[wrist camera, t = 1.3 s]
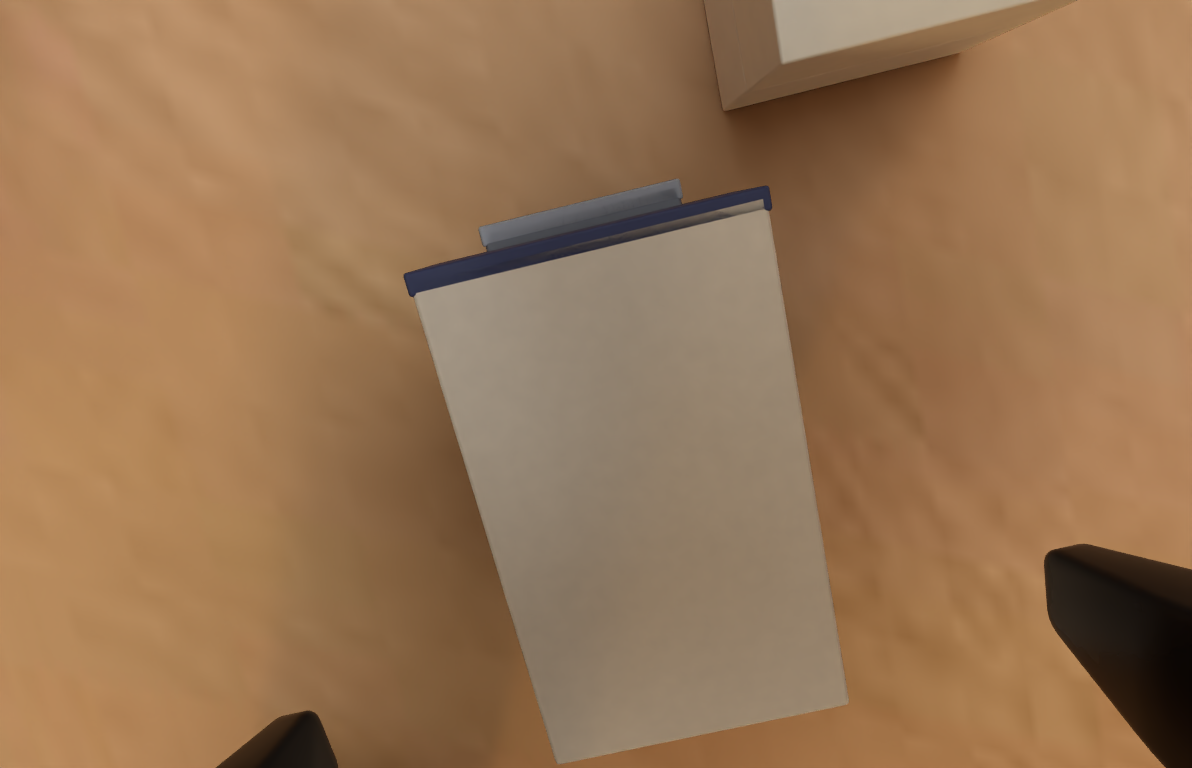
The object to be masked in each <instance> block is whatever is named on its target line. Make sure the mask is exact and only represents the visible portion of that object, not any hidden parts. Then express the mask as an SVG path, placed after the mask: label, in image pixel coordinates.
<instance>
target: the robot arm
mask: <svg viewBox="0 0 1192 768" xmlns="http://www.w3.org/2000/svg"><path fill="white" fill-rule="evenodd" d="M1044 570H1045V585H1046V599H1047V611H1048V615H1049V619H1050V621H1051V624H1052V626H1053V627H1054V629H1055V631H1056V632H1057V634H1058V635H1059V636H1060V638H1061V639H1062V640H1063V642H1064V643H1065V644H1066V645H1067V647H1068V648H1069V649H1070V650H1071V652H1072V653H1073V654H1074V655H1075V657H1076V658H1077V659H1078V661H1079V662H1080V663H1081V664H1082V666H1083V667H1084V668H1085V669H1086V671H1087V672H1088V673H1089V674H1090V676H1091V677H1092V678H1093V680H1094V681H1095V682H1096V683H1097V685H1098V686H1099V687H1100V688H1101V690H1102V691H1103V692H1104V693H1105V695H1106V696H1107V697H1108V699H1109V700H1110V701H1111V702H1112V704H1113V705H1114V706H1115V707H1116V709H1117V710H1118V711H1119V712H1120V714H1121V715H1122V716H1123V718H1124V719H1125V720H1126V721H1127V723H1128V724H1129V725H1130V726H1131V728H1132V729H1133V730H1134V731H1135V733H1136V734H1137V735H1138V736H1139V737H1140V739H1141V740H1142V741H1143V742H1144V743H1145V745H1146V746H1147V747H1148V748H1149V749H1150V751H1151V752H1152V753H1153V754H1154V755H1155V756H1156V758H1157V759H1158V760H1159V761H1160V762H1161V763H1162V764H1163V765H1164V766H1165V767H1166V768H1192V570H1191V569H1187V568H1183V567H1179V566H1175V565H1171V564H1166V563H1162V562H1158V561H1154V560H1150V559H1146V558H1142V557H1138V556H1134V555H1130V554H1126V553H1121V552H1117V551H1113V550H1109V549H1105V548H1101V547H1097V546H1093V545H1088V544H1077V545H1073V546H1068V547H1064V548H1059V549H1054V550H1051V551H1050V552H1048V553H1047V555H1046V557H1045V560H1044ZM216 768H338V764H337V760H336V758H335V755H334V753H333V750H332V748H331V745H330V743H329V740H328V738H327V735H326V733H325V730H324V728H323V725H322V723H321V721H320V719H319V717H318V715H317V714H316V713H314V712H312V711H303V712H299V713H294V714H289V715H285V716H281V717H279V718H277V719H276V720H274V721H273V722H272V723H271V724H269V725H268V726H267V727H266V728H264V729H263V730H262V731H261V732H259V733H258V734H257V735H256V736H254V737H253V738H252V739H251V740H250V741H248V742H247V743H246V744H245V745H243V746H242V747H241V748H240V749H238V750H237V751H236V752H235V753H233V754H232V755H231V756H230V757H229V758H227V759H226V760H225V761H224V762H222V763H221V764H220V765H219V766H217V767H216Z"/></svg>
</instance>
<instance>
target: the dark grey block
mask: <svg viewBox="0 0 1192 768" xmlns="http://www.w3.org/2000/svg"><path fill="white" fill-rule="evenodd" d="M682 198H683V194H682V189H681V184H680V180H679V179H673V180H669V181H665V182H661V183H657V184H653V185H649V186H645V187H641V188H636V189H632V190H628V191H624V192H620V193H616V194H612V195H608V196H604V197H600V198H596V199H592V200H587V201H583V202H579V203H575V204H571V205H567V206H563V207H559V208H555V209H551V210H547V211H543V212H538V213H534V214H530V215H526V216H522V217H518V218H514V219H510V220H506V221H502V222H498V223H494V224H489V225H485V226H481V227H479V234H480V237H481V241H482V245H483V246H484V247H486V249H487V252H488V251H492V250H496V249H500V248H505V247H509V246H513V245H517V244H521V243H525V242H529V241H533V240H537V239H542V238H546V237H550V236H554V235H558V234H562V233H566V232H570V231H574V230H579V229H583V228H587V227H591V226H595V225H599V224H603V223H607V222H611V221H616V220H620V219H624V218H628V217H632V216H636V215H640V214H644V213H648V212H653V211H657V210H661V209H665V208H669V207H673V206H677V205H681V204H682V203H681V199H682Z"/></svg>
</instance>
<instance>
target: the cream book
mask: <svg viewBox="0 0 1192 768" xmlns="http://www.w3.org/2000/svg"><path fill="white" fill-rule="evenodd" d="M770 210H772V202H771V196H770V190H769V187H768V186H761V187H756V188H751V189H746V190H741V191H735V192H731V193H727V194H722V195H718V196H714V197H710V198H706V199H702V200H698V201H694V202H690V203H685V204H681V205H677V206H673V207H669V208H665V209H661V210H657V211H653V212H648V213H644V214H640V215H636V216H632V217H628V218H624V219H620V220H616V221H611V222H607V223H603V224H599V225H595V226H591V227H587V228H583V229H579V230H574V231H570V232H566V233H562V234H558V235H554V236H550V237H546V238H542V239H537V240H533V241H529V242H525V243H521V244H517V245H513V246H509V247H505V248H500V249H496V250H492V251H488V252H484V253H480V254H476V255H472V256H467V257H463V258H459V259H455V260H451V261H447V262H443V263H439V264H435V265H432V266H428V267H425V268H422V269H418V270H415V271H411V272H408V273H405V274H404V280H405V283H406V286H407V290H408V293H409V295H410V297H414V300H415V303H416V306H417V310H418V313H419V316H420V320H421V323H422V326H423V329H424V333H425V336H426V339H427V342H428V346H429V349H430V352H431V355H432V359H433V362H434V365H435V369H436V372H437V375H438V378H439V382H440V385H441V388H442V391H443V395H444V398H445V401H446V405H447V408H448V411H449V414H450V418H451V421H452V424H453V427H454V431H455V434H456V437H457V441H458V444H459V447H460V450H461V454H462V457H463V460H464V463H465V467H466V470H467V473H468V476H469V480H470V483H471V486H472V490H473V493H474V496H475V499H476V503H477V506H478V509H479V512H480V516H481V519H482V522H483V526H484V529H485V532H486V535H487V539H488V542H489V545H490V548H491V552H492V555H493V558H494V561H495V565H496V568H497V571H498V575H499V578H500V581H501V584H502V588H503V591H504V594H505V597H506V601H507V604H508V607H509V611H510V614H511V617H512V620H513V624H514V627H515V630H516V633H517V637H518V640H519V643H520V647H521V650H522V653H523V656H524V660H525V663H526V666H527V669H528V673H529V676H530V679H531V682H532V686H533V689H534V692H535V696H536V699H537V702H538V705H539V709H540V712H541V715H542V718H543V722H544V725H545V728H546V732H547V735H548V738H549V741H550V745H551V748H552V751H553V754H554V758H555V761H556V763H557V764H564V763H569V762H574V761H579V760H584V759H588V758H593V757H598V756H603V755H608V754H612V753H617V752H622V751H627V750H632V749H636V748H641V747H646V746H651V745H656V744H660V743H665V742H670V741H675V740H680V739H684V738H689V737H694V736H699V735H704V734H708V733H713V732H718V731H723V730H728V729H732V728H737V727H742V726H747V725H752V724H756V723H761V722H766V721H771V720H776V719H781V718H785V717H790V716H795V715H800V714H805V713H809V712H814V711H819V710H824V709H829V708H833V707H838V706H843V705H846V704H848V702H849V697H848V691H847V685H846V679H845V673H844V667H843V661H842V655H841V648H840V642H839V636H838V630H837V624H836V618H835V612H834V606H833V599H832V593H831V587H830V581H829V575H828V569H827V563H826V557H825V550H824V544H823V538H822V532H821V526H820V520H819V514H818V508H817V501H816V495H815V489H814V483H813V477H812V471H811V465H810V459H809V453H808V446H807V440H806V434H805V428H804V422H803V416H802V410H801V404H800V397H799V391H798V385H797V379H796V373H795V367H794V361H793V355H792V348H791V342H790V336H789V330H788V324H787V318H786V312H785V306H784V299H783V293H782V287H781V281H780V275H779V269H778V263H777V257H776V251H775V244H774V238H773V232H772V226H771V220H770V214H769V211H770Z"/></svg>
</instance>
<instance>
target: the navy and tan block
mask: <svg viewBox="0 0 1192 768" xmlns="http://www.w3.org/2000/svg"><path fill="white" fill-rule="evenodd" d="M1075 1H1077V0H704V6H705V11H706V17H707V23H708V29H709V34H710V40H711V46H712V52H713V57H714V63H715V69H716V75H717V80H718V86H719V92H720V98H721V103H722V109H723V110H724V111H727V110H731V109H736V108H740V107H744V106H748V105H752V104H756V103H760V102H764V101H768V100H772V99H776V98H780V97H784V96H788V95H792V94H796V93H800V92H804V91H808V90H812V89H816V88H820V87H824V86H828V85H832V84H836V83H840V82H844V81H848V80H852V79H856V78H860V77H864V76H868V75H872V74H876V73H880V72H884V71H888V70H892V69H896V68H900V67H904V66H908V65H913V64H917V63H921V62H925V61H929V60H933V59H937V58H941V57H945V56H949V55H953V54H957V53H961V52H963V51H965V50H968V49H970V48H972V47H974V46H977V45H979V44H981V43H983V42H986V41H988V40H990V39H992V38H994V37H997V36H999V35H1001V34H1003V33H1006V32H1008V31H1010V30H1012V29H1015V28H1017V27H1019V26H1021V25H1024V24H1026V23H1027V22H1030V21H1033V20H1035V19H1037V18H1039V17H1042V16H1044V15H1046V14H1048V13H1050V12H1053V11H1055V10H1057V9H1059V8H1062V7H1064V6H1066V5H1068V4H1071V3H1073V2H1075Z"/></svg>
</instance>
